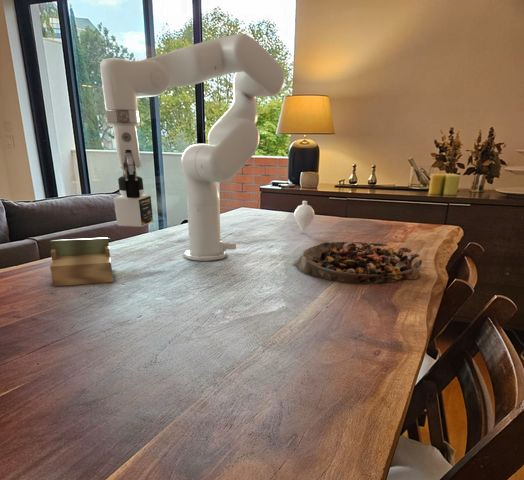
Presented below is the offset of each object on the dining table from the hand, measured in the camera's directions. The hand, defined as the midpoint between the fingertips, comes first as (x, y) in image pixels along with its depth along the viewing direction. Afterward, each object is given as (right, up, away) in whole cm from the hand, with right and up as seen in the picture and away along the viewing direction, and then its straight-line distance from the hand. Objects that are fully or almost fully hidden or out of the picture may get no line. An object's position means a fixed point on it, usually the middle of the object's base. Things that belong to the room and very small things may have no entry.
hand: (132, 195), depth 118 cm
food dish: (+61, -17, +13) cm, 64 cm away
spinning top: (+50, +5, +58) cm, 77 cm away
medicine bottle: (0, -7, +3) cm, 8 cm away
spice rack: (-12, -21, 0) cm, 25 cm away
